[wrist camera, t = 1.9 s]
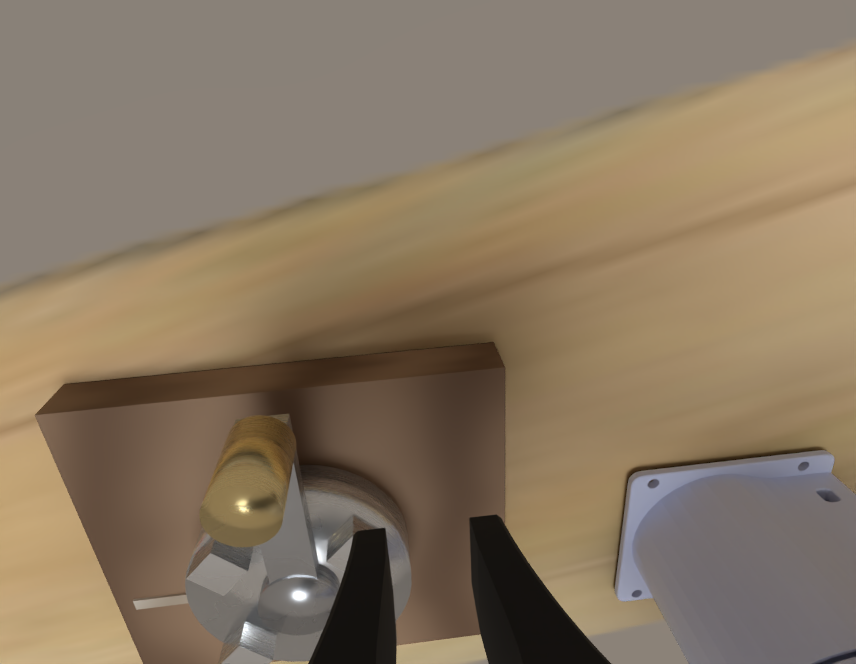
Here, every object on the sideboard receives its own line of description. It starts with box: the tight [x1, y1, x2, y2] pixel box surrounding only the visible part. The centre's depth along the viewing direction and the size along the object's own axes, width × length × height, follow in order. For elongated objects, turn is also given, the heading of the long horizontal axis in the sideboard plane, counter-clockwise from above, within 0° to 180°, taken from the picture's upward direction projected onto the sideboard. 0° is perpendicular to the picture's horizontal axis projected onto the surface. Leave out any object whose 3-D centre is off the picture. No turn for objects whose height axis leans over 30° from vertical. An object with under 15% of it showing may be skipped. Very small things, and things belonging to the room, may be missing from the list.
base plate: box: [35, 342, 505, 664], centre depth 23 cm, size 16×14×2 cm
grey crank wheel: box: [185, 414, 411, 664], centre depth 19 cm, size 12×8×6 cm, turn 4°
